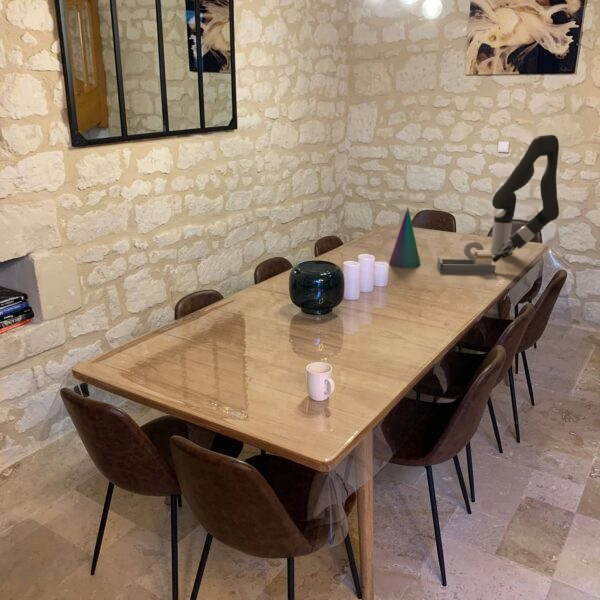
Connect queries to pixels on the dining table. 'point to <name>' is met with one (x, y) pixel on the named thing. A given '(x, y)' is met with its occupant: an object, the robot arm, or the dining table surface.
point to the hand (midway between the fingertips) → (493, 260)
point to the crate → (483, 257)
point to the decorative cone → (405, 246)
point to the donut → (471, 245)
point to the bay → (463, 267)
